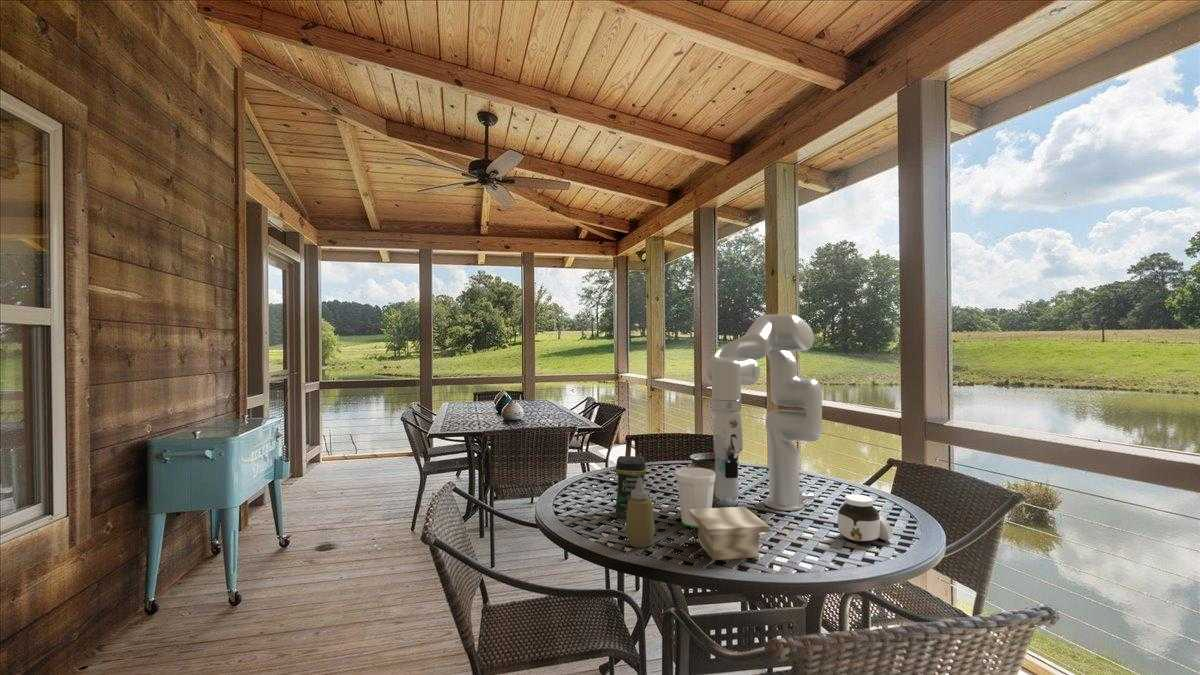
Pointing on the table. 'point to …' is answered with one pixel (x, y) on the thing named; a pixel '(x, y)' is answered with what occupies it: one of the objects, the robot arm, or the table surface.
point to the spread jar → (862, 521)
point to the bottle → (723, 474)
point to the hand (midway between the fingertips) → (726, 473)
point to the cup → (694, 491)
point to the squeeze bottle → (640, 517)
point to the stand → (729, 532)
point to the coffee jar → (627, 480)
